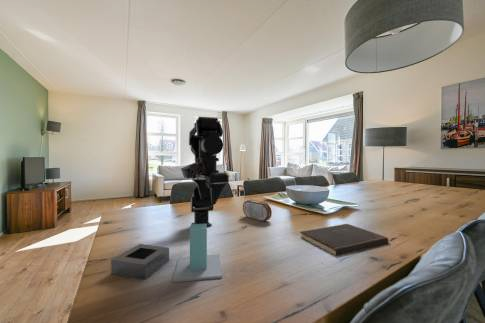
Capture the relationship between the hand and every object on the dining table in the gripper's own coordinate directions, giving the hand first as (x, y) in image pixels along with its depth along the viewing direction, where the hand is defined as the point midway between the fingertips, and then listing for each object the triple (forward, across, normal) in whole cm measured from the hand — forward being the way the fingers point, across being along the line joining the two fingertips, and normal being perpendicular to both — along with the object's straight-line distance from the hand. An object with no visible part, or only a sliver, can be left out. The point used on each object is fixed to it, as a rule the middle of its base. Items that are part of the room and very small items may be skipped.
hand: (207, 201), depth 71 cm
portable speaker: (+13, -11, +28) cm, 33 cm away
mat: (+13, +15, -9) cm, 22 cm away
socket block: (+13, +7, -21) cm, 26 cm away
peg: (+12, +15, -9) cm, 22 cm away
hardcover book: (+14, +24, +39) cm, 48 cm away
